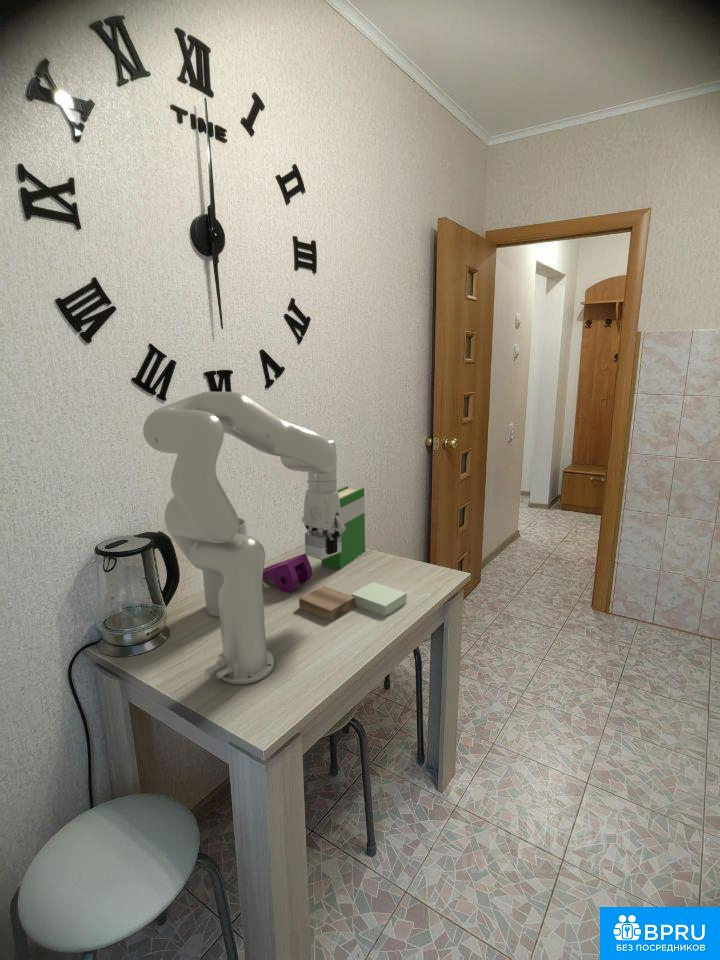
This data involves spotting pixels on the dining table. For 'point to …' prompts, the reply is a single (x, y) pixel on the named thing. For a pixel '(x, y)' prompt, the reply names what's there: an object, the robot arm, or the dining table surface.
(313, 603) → the stand
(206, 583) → the cylinder vase
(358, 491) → the hardback book
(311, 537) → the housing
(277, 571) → the mounting bracket
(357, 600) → the stand
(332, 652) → the dining table surface
